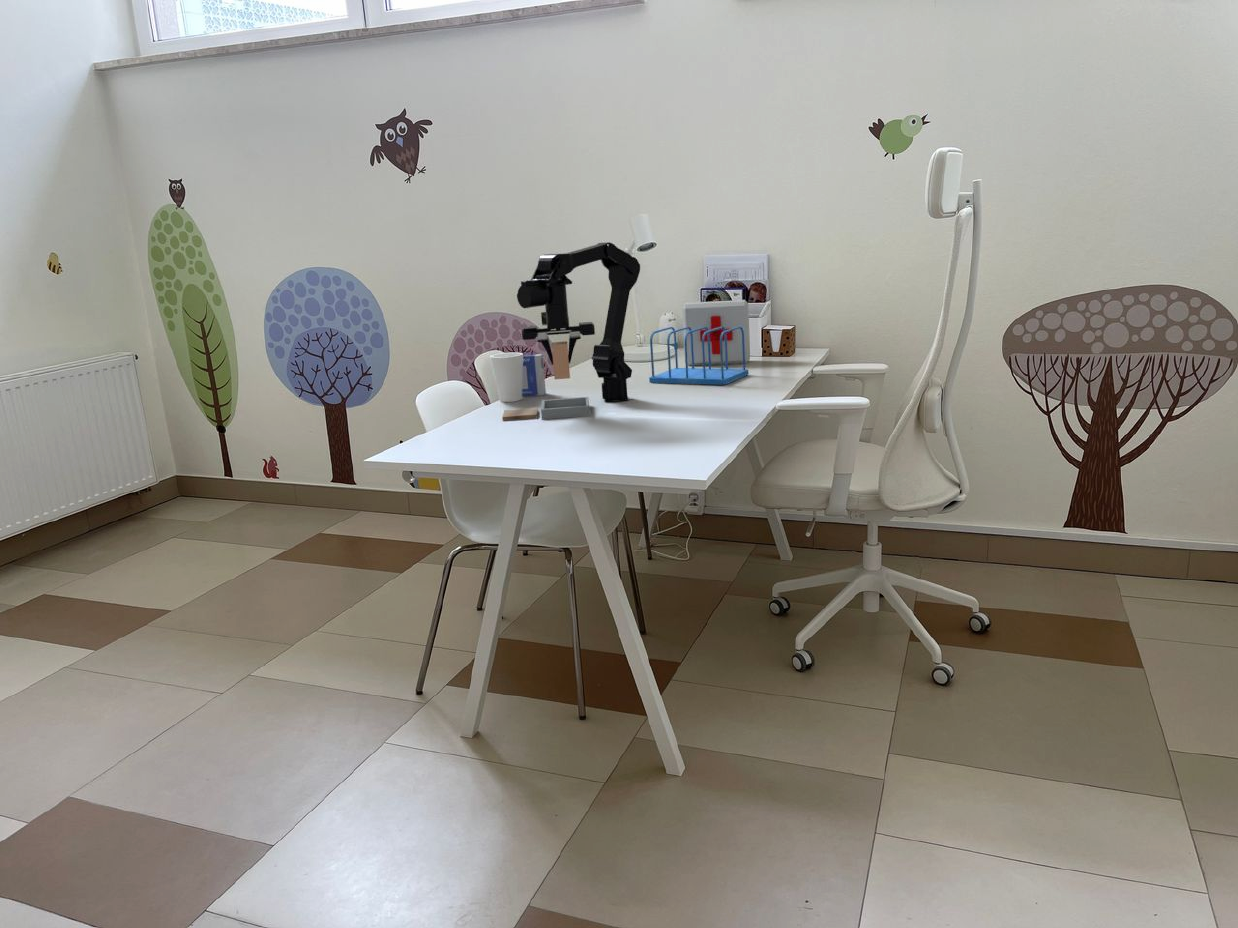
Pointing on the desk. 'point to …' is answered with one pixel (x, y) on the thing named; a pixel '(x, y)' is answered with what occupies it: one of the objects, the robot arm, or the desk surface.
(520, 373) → the foam cup
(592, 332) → the robot arm
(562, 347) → the block
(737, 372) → the file sorter
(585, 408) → the tray
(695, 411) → the desk surface
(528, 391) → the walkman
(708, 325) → the bevelled white case
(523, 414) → the coaster
